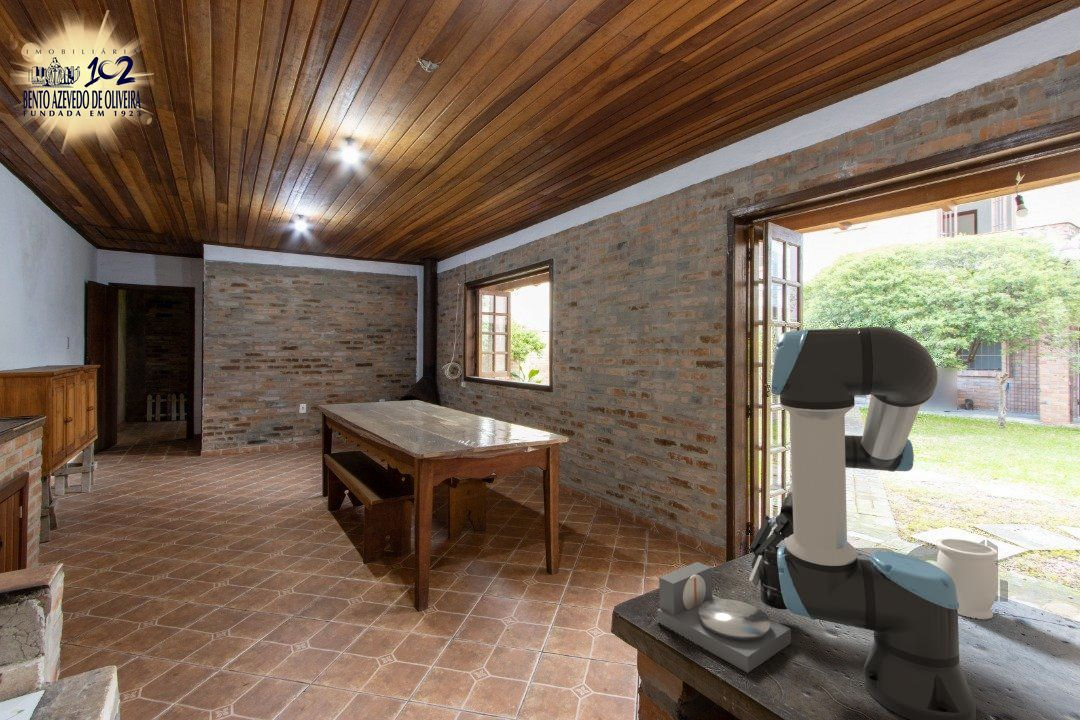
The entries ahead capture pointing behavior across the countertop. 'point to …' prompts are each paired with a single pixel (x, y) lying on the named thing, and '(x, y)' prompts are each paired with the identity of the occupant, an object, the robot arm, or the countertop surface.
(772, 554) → the supplement bottle
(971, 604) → the jar
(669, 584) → the scale
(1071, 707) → the countertop surface
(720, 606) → the scale pan
